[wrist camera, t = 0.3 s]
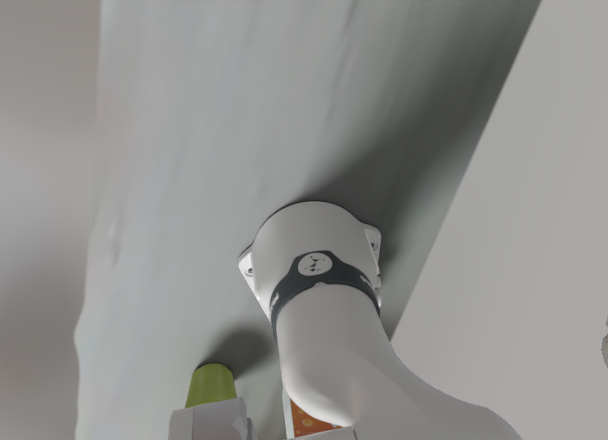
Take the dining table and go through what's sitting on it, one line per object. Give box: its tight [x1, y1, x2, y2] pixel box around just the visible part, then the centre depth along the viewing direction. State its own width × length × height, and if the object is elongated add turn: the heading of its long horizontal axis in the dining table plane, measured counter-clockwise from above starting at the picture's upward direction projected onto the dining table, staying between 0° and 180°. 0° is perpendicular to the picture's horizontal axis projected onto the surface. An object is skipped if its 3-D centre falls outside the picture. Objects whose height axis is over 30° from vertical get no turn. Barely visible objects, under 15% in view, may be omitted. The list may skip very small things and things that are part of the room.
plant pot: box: [184, 363, 237, 409], centre depth 75 cm, size 9×9×9 cm
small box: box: [282, 386, 343, 439], centre depth 76 cm, size 8×6×13 cm
